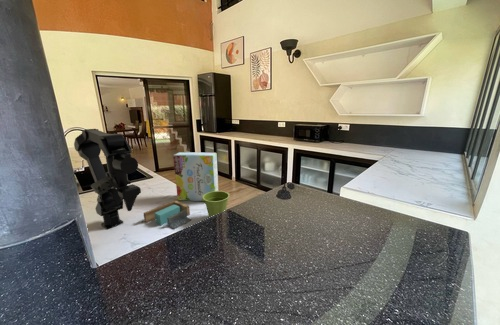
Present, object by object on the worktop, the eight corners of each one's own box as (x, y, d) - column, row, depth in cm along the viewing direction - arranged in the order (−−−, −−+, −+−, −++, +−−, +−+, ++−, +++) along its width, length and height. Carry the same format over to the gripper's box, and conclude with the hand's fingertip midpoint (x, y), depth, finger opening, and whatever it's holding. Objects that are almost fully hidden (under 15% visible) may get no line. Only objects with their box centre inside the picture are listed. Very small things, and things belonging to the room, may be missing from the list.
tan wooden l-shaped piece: (144, 222, 93) (143, 212, 92) (175, 208, 106) (174, 200, 105) (158, 230, 87) (157, 220, 86) (189, 214, 100) (189, 205, 99)
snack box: (219, 195, 121) (217, 152, 114) (215, 202, 113) (213, 155, 106) (183, 194, 123) (179, 151, 116) (176, 200, 115) (172, 154, 108)
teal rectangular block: (155, 223, 93) (154, 212, 92) (175, 213, 101) (174, 204, 100) (161, 225, 91) (159, 215, 89) (180, 216, 99) (179, 206, 97)
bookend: (168, 226, 90) (167, 217, 89) (185, 217, 97) (184, 209, 96) (174, 229, 88) (173, 220, 87) (191, 220, 95) (190, 212, 94)
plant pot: (229, 211, 103) (228, 189, 100) (230, 224, 92) (230, 200, 89) (204, 213, 101) (203, 191, 98) (203, 226, 90) (201, 202, 87)
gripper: (81, 169, 76) (89, 208, 80) (103, 179, 65) (111, 224, 69) (114, 163, 85) (120, 198, 89) (138, 171, 74) (144, 211, 78)
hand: (123, 207), depth 81 cm, fingers open, 9 cm apart
